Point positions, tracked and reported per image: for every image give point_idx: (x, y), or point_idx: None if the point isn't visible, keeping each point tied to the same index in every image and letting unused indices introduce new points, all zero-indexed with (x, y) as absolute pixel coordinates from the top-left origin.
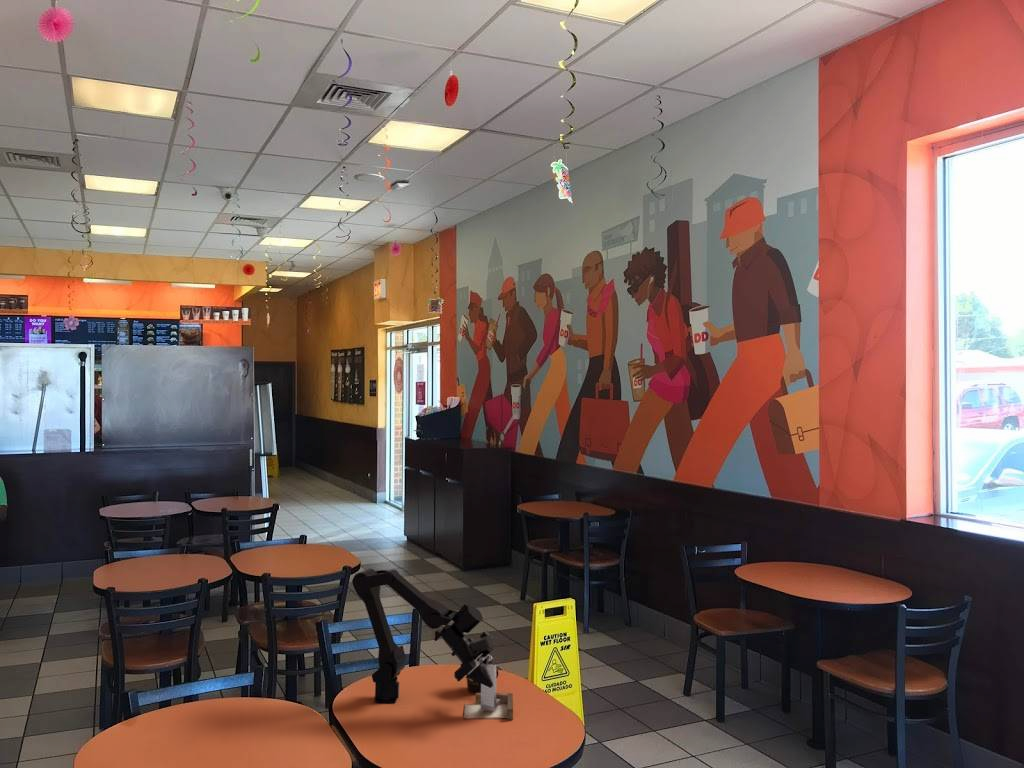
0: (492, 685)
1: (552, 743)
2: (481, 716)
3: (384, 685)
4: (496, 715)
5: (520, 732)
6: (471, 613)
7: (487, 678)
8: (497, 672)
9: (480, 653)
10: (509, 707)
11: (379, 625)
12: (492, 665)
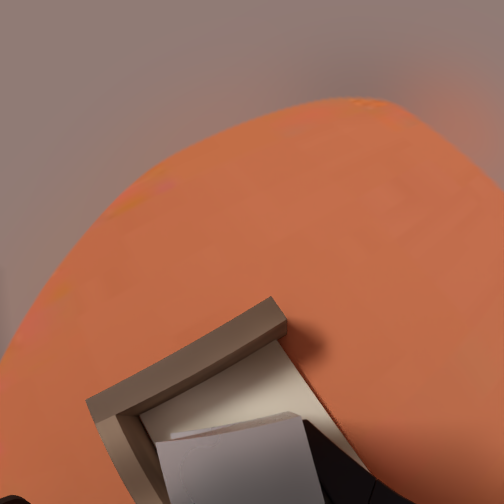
0: (306, 420)
1: (344, 133)
2: (342, 446)
3: None
4: (287, 396)
5: (354, 228)
6: None
7: (354, 464)
8: (9, 500)
9: None
10: (259, 325)
11: None
12: (226, 495)
